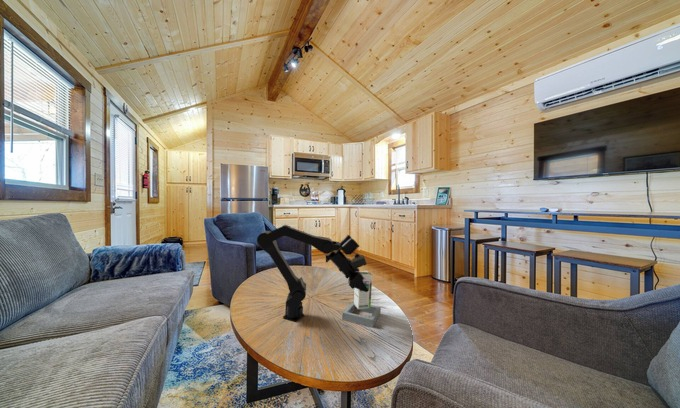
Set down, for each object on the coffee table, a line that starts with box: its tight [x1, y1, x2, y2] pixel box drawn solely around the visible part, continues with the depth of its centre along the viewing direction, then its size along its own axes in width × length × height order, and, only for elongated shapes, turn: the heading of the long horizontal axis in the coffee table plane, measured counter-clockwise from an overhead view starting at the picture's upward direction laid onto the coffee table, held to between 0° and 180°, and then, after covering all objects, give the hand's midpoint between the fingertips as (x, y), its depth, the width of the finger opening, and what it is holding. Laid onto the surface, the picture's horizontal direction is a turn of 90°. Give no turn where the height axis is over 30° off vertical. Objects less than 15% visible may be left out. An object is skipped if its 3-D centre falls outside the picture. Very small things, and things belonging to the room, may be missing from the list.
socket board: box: [341, 300, 382, 328], centre depth 105 cm, size 13×13×3 cm
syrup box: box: [353, 270, 373, 309], centre depth 105 cm, size 6×6×14 cm
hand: (365, 288), depth 105 cm, fingers closed on syrup box, 6 cm apart
